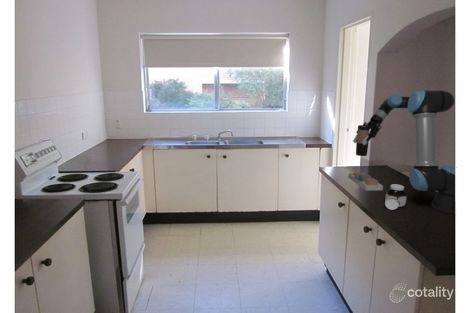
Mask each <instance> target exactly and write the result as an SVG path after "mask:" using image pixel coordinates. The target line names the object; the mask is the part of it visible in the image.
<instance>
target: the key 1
mask: <svg viewBox="0 0 470 313" xmlns="http://www.w3.org/2000/svg"><path fill="white" fill-rule="evenodd" d="M363 173H364V172H353V175H355V176H356V177H359V174H363Z"/></svg>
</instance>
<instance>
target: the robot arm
mask: <svg viewBox="0 0 470 313" xmlns="http://www.w3.org/2000/svg"><path fill="white" fill-rule="evenodd" d="M454 97H455V96H454V95H453V94H452V93H451V92H448V91H446V90H426V89H425V90H424V89H423V90H415V91H413V92H412V93H411V95H410V96H401V95H399V94H393V95H391V96H390V97H387V98H385V100H383V102H382V103H381V104H380V106H379V107H378V109H376V111H375V112H374V114H372V116H371V117H370V120H369V121H368V122H366V121H364V122H363V124H362V125H367V126H368V127H369V126H370V131H369V134H368V135H369V136H367V137H366V138H365V139H364V141H363V142H362V144H363V145H364V146H365V144H366V143H367V142H368V141H370V140H371V139H375V138H376V136H377V134H378V133H379V131H380V130H381V129H382V128H383V126H382V125H381V124H382V123H383V121H384V120H385V119H386V118H387V117H388V115H389V114H390V113H391V112H392V111H393V110H395V109H408V110H407V111H408V112H410V113H411V114H412V115H411V116H412V118H413V119H415V140H416V141H415V143H416V147H415V148H416V149H415V150H416V152H415V153H416V163H415V164H414V165H413V168H412V169H411V170H410V171H409V174H408V178H409V182H410V185H411V186H412V188H413V189H415V190H417V191H422V192H428V191H430V192H433V191H434V192H437V193H436V195H435V196H434V197H433V198H434V199H433V200H432V201H431V207H432V208H433V209H434V210H436V211H438V212H441V213H447V214H451V213H452V214H455V166H450V165H441V167H440V168H439V164H437V163H436V158H435V157H436V155H435V154H436V153H435V150H436V149H435V117H436V116H437V115H438V113H443V112H447V111H449V110H451V109H452V108H453V107H454V105H455V98H454ZM357 131H358V129H356V135H355V137H354V138H353V140H352V142H353V143H354V144H356V142H357ZM368 143H369V142H368ZM455 215H456V214H455Z"/></svg>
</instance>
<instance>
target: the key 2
mask: <svg viewBox="0 0 470 313" xmlns="http://www.w3.org/2000/svg"><path fill="white" fill-rule="evenodd" d="M364 183H366V184H367V185H378V183H379V181H378V180H377V179H376V178H374V177H373V178H365V181H364Z"/></svg>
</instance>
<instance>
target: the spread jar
mask: <svg viewBox="0 0 470 313" xmlns="http://www.w3.org/2000/svg"><path fill="white" fill-rule="evenodd" d="M384 198H385V201H384V205H385V207H386V208H387V209H388V210H391V211H392V210H396V209H402V208H403V207H405V205H406V204H407V198H408V197H407V192H406V191H405V186H403V185H401V184H396V183H395V184H394V183H392V184H391V185H390V186H389V188H388V189H387V190H386V193H385V197H384Z"/></svg>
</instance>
